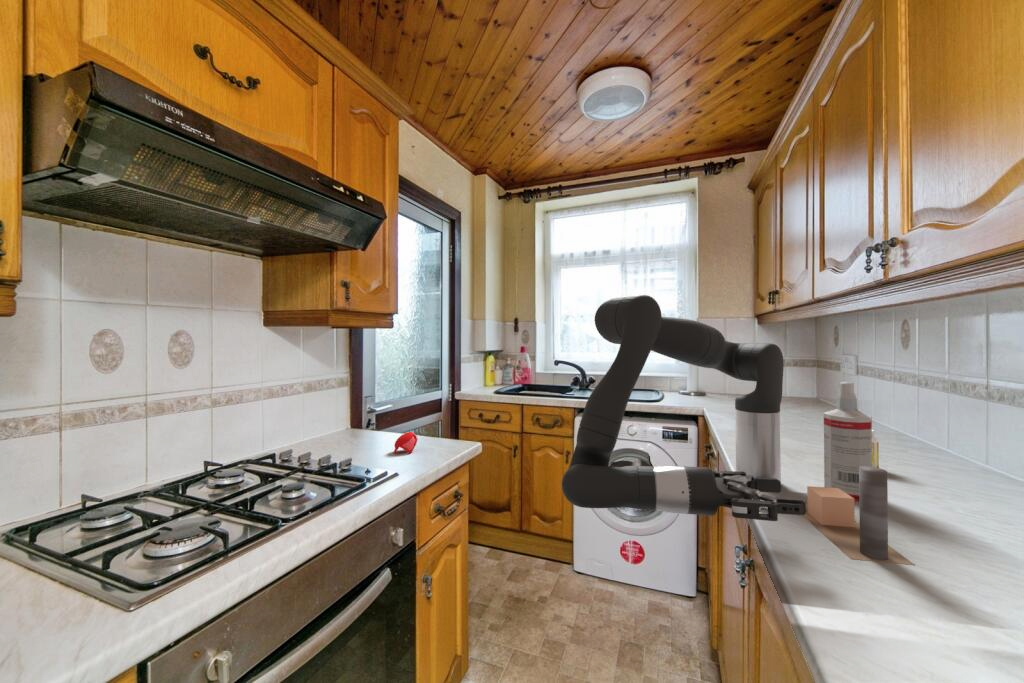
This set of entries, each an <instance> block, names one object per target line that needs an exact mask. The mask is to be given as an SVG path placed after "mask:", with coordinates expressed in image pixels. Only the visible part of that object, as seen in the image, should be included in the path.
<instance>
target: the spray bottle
mask: <svg viewBox="0 0 1024 683" xmlns="http://www.w3.org/2000/svg"><path fill="white" fill-rule="evenodd" d="M836 401H837V403H836V408H834V409H833V410H832V409H831V410H829V411H828V410H827V411H825V412H823V466H824V467H823V468H824V469H823V471H824V472H823V473H824V475H823V476H824V478H823V480H824V481H823V483H824V484H823V485H824V486H823V487H829V488H839V489H840V490H842V491H843V492H845V493H846V494H848V495H850V496H851V497H853V498H854V502H859V467H861V466H869V467H872V430H873V429H872V428H873V422H872V420H873V418H872V415H870V414H867V413H864V412H862V411H860V410H859V409H858V398H857V395H856V394H855V383H854V382H850V381H842V382H840V383H839V393H838V395H837V399H836Z"/></svg>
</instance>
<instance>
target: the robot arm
mask: <svg viewBox="0 0 1024 683" xmlns="http://www.w3.org/2000/svg"><path fill="white" fill-rule="evenodd" d="M594 325H595V328H596V330H597V332H598V334H599V335H600V337H602V338H603V339H604V340H606V341H607V342H608V343H611V344H613V345H615V344H616V345H620V346H619V349H618V352H617V355H616V357H615V358H614V361H613V362H612V363H611V366H610V367H609V368H608V370H607V371H606V373H605V374H604V376H603V377H601V379H600V380H599V382H598V384H597V385H595V387H594V389H593V390H592V392H591V393H590V395H589V397H588V399H587V401H586V403H585V406H584V409H583V412H582V415H581V419H580V423H579V427H578V430H577V434H576V444H575V447H574V450H573V453H572V457H571V461H570V463H569V466H568V468H567V470H566V471H565V472H564V474H563V477H562V479H561V488H562V489H561V491H562V494H563V496H564V497H565V498H566V500H568V502H569V503H571V504H572V505H574V506H575V507H578V508H579V507H580V508H583V509H585V508H586V509H615V508H627V509H628V508H629V509H636V510H645V511H646V510H648V511H660V512H664V513H670V514H680V515H682V514H684V515H697V516H698V515H699V516H710V517H711V516H712V517H713V516H715V515H716V514H717V512H718V509H719V508H720V507H724V508H729V509H731V516H732V517H734V518H737V519H745V520H747V519H748V520H759V521H768V522H778V518H779V515H791V516H792V515H793V516H794V515H795V516H802V515H804V514H805V513H806V503H805V502H806V501H805V500H803V499H802V498H795V497H779V496H778V497H777V496H775V497H774V496H771V495H766V494H763V493H771V494H773V493H775V494H778V493H781V492H782V465H781V464H782V457H781V456H782V453H781V452H782V451H781V450H782V448H781V447H782V446H781V444H782V443H781V442H782V441H781V440H782V438H781V403H782V399H783V387H784V386H783V384H784V383H783V381H784V363H785V362H784V356H783V352H782V350H781V348H780V347H779V346H778V345H777V344H775V343H769V342H767V343H766V342H731V341H727V340H726V339H725V337H724V335H723V333H722V332H721V331H719V329H717V328H715V327H713V326H711V325H708V324H706V323H703V322H700V321H698V320H694V319H689V318H680V317H673V316H662V311H661V307H660V304H659V303H658V302H657V300H656V299H655V298H654V297H652V296H650V295H647V294H633V295H625V296H619V297H614V298H610V299H608V300H606V301H604V302H602V303H601V304H600V306H598V308H597V310H596V311H595V314H594ZM651 352H654V353H657V354H659V355H662V356H664V357H668V358H670V359H673V360H677V361H680V362H682V363H686V364H688V365H692V366H696V367H701V368H706V369H713V370H716V371H719V372H721V373H723V374H725V375H727V376H730V377H732V378H734V379H737V380H740V381H746V382H747V381H748V382H755V389H754V390H753V391H751V392H749V393H747V394H741V395H738V396H736V397H735V399H734V407H735V409H734V414H735V416H734V420H735V421H734V422H735V427H734V428H735V471H733V470H732V471H731V470H712V469H711V468H710V467H705V466H704V467H703V466H685V465H684V466H682V465H659V466H649V465H648V466H647V465H625V466H624V465H623V466H621V467H620V466H618V467H617V466H609V464H610V460H611V456H612V453H613V451H614V449H615V447H616V444H617V440H618V438H619V434H620V429H621V427H622V422H623V419H624V416H625V412H626V410H627V406H628V403H629V400H630V397H631V395H632V393H633V390H634V388H635V386H636V384H637V382H638V380H639V378H640V375H641V373H642V371H643V369H644V366H645V364H646V362H647V359H648V357H649V356H650V354H651Z"/></svg>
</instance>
